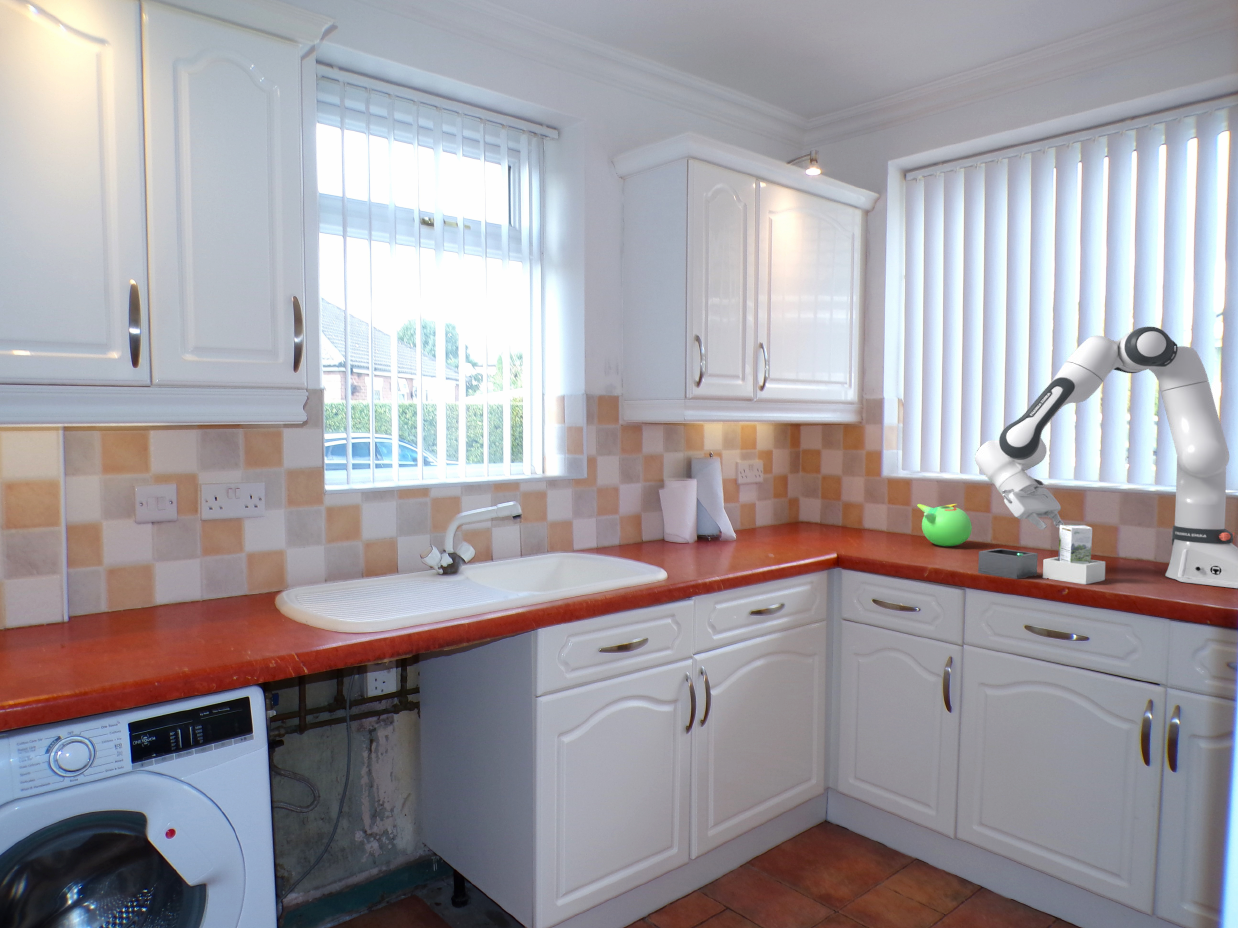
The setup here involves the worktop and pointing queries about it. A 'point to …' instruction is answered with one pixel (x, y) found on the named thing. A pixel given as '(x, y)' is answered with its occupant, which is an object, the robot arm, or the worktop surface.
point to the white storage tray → (1074, 571)
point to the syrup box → (1075, 544)
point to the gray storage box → (1007, 563)
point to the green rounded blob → (945, 525)
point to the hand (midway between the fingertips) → (1052, 527)
